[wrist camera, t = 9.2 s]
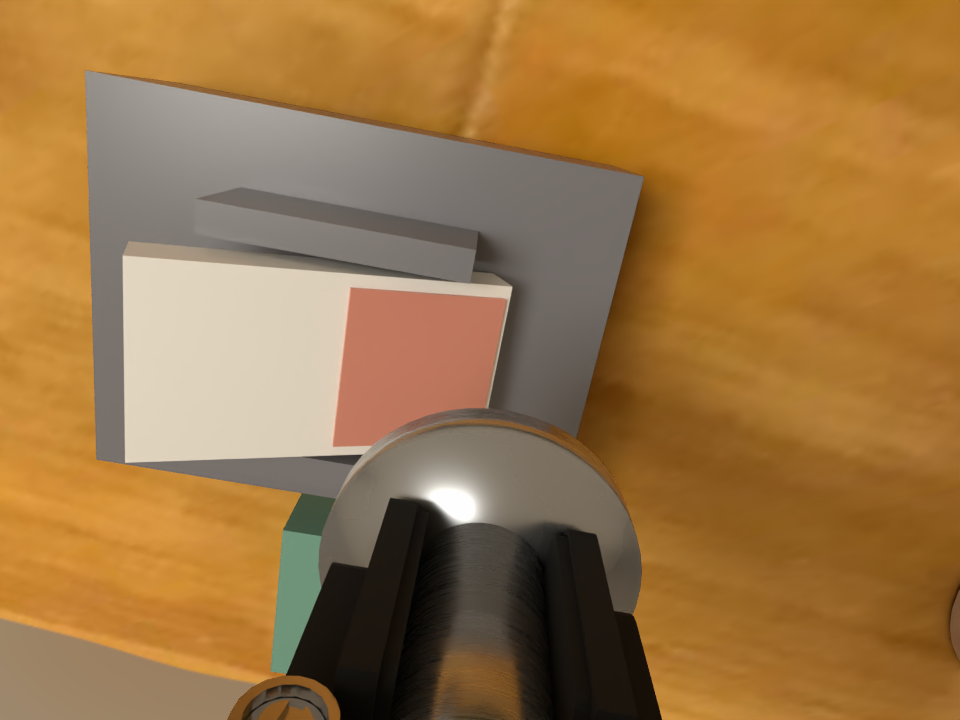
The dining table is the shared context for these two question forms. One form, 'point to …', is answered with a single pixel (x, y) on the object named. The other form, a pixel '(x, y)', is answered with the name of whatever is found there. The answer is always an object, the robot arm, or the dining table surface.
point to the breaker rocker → (294, 352)
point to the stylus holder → (298, 576)
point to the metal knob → (482, 553)
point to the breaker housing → (351, 233)
